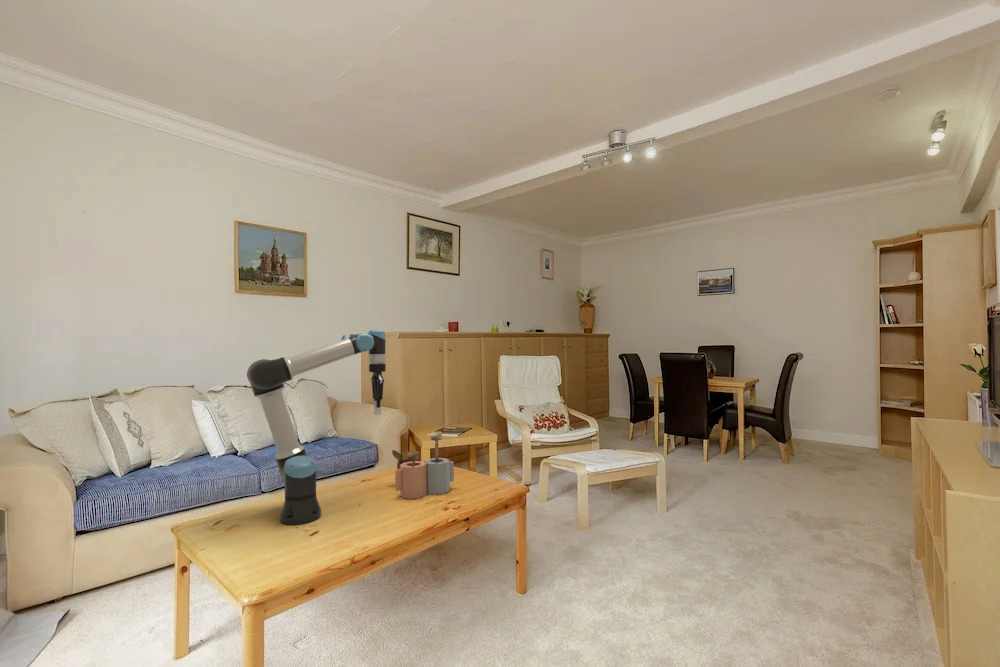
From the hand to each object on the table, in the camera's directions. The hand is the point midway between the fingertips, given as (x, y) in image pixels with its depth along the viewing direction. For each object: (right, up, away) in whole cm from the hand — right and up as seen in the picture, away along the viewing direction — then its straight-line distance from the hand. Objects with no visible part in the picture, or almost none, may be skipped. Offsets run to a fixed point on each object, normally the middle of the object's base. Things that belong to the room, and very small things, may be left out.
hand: (377, 414), depth 220 cm
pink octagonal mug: (+16, -36, -4) cm, 40 cm away
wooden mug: (+10, -37, +14) cm, 40 cm away
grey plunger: (+27, -25, +2) cm, 37 cm away
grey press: (+28, -36, +3) cm, 46 cm away
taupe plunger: (+17, -33, -4) cm, 37 cm away
